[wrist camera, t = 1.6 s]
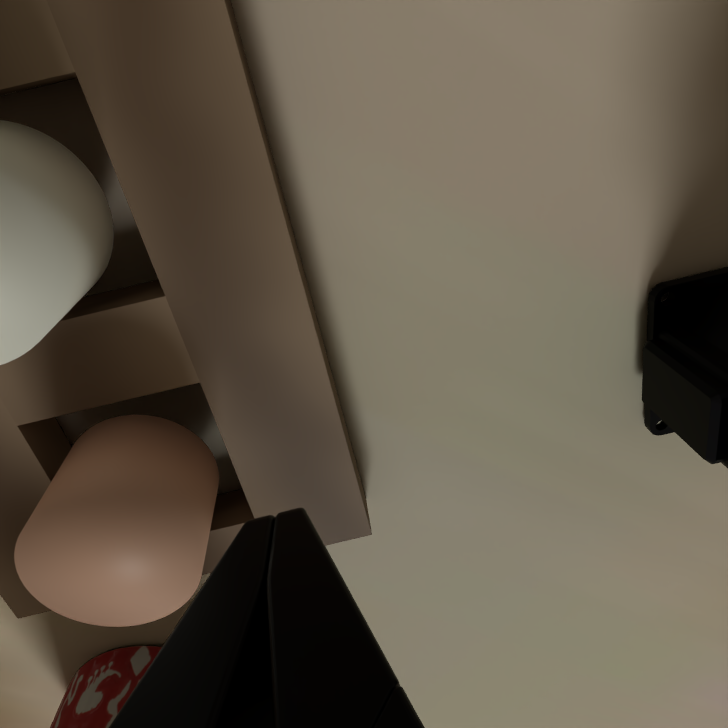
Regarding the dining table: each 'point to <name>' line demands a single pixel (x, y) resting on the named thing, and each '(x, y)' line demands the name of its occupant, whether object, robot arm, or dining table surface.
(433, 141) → the dining table surface
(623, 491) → the dining table surface
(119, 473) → the button terracotta
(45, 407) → the button board
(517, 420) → the dining table surface
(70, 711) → the mug
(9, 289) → the button cream
